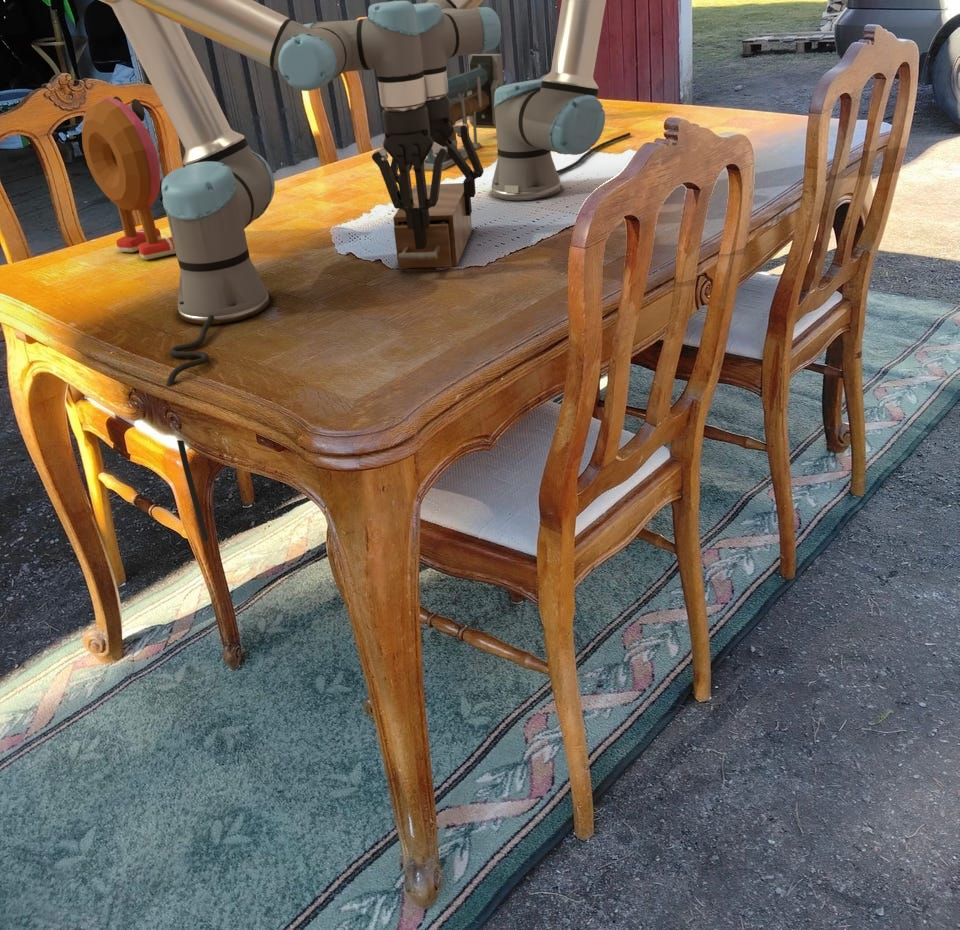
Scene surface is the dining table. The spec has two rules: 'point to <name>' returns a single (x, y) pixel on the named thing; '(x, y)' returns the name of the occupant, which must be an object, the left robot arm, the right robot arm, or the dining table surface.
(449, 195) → the cabinet
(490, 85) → the clamp
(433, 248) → the drawer
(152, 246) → the toy
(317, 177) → the dining table surface
